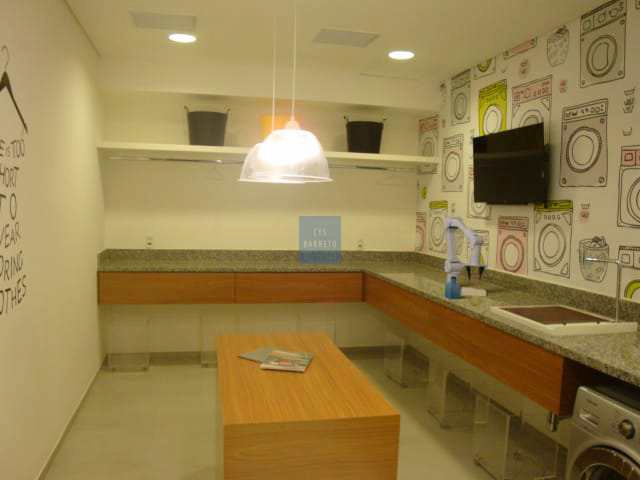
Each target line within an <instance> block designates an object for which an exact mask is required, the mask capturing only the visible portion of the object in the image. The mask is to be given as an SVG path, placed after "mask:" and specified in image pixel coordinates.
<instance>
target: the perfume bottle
mask: <svg viewBox="0 0 640 480" xmlns="http://www.w3.org/2000/svg"><path fill="white" fill-rule="evenodd" d="M450 281H451V282H448V283H447V282H446V284H445V285H446V286H445V285H444V286H445V287H444V298H446V299H448V300H461V298H462V297H461V295H462V287H461V285H460V283H456V281H457V279H456V276H451V279H450Z"/></svg>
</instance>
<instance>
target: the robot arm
mask: <svg viewBox="0 0 640 480" xmlns="http://www.w3.org/2000/svg"><path fill="white" fill-rule="evenodd" d="M443 228H444V229H443V230H444V234H445V240H446V241H445V242H446V250H447V259H445V260H444V272H446V284H444V286H446V285H447V283H448V282H451V281H450V279H451V276H456V279H457V281H456V283H459V281H460V274H461V273H462V271H463V268H465V270H466V272H467V278H468V280H470V273H471V271H472V269H471V268H478V274H479V275H480V279H482V278H481V277H482V275H483V272H484V271H485V269H489V264H488V263H486V264H485V263H481V256H482V255H481V254H482V246H483V245H484V241H485V240H484V237H483V236H482V235H480V234H478V233H476V232H475V231H474V229H473V228H472V227H471V228H470V227H468V226H467V225H466V223H464V219H463V218H462V217H461V216H446V217H445V218H444V220H443ZM458 230H461V232H463V237H464V238H466V239H467V240H468V243H469V248H470V257H469V258H470V259H469V263H466V262H465V263H463V262H462V260H461V259H460V258H459V257H458V254H457V247H456V246H457V245H456V237H455V232H456V231H458ZM459 284H460V283H459Z"/></svg>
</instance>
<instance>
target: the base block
mask: <svg viewBox="0 0 640 480" xmlns="http://www.w3.org/2000/svg"><path fill="white" fill-rule="evenodd" d="M461 293H462V294H463V295H464V296H475V297H477V296H478V297H487V291H486V290H485V289H484V288H483V287H465V286H462V287H461Z"/></svg>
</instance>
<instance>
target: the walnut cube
mask: <svg viewBox="0 0 640 480" xmlns="http://www.w3.org/2000/svg"><path fill="white" fill-rule="evenodd" d="M468 280H469V279H468ZM480 281H481V278H480V275H479V273H471V272H470V280H469V281H468V282H469V283H470V284H480Z"/></svg>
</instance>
